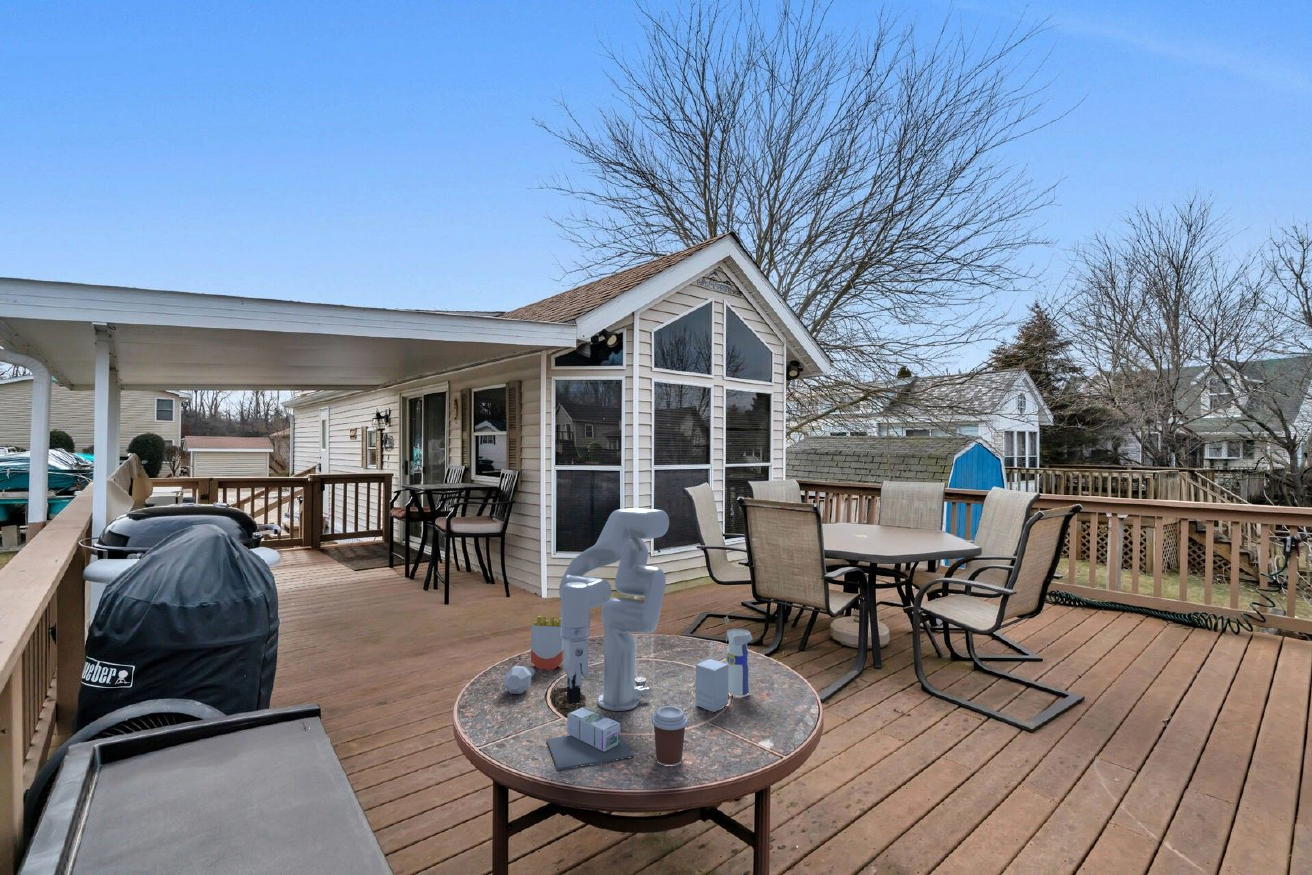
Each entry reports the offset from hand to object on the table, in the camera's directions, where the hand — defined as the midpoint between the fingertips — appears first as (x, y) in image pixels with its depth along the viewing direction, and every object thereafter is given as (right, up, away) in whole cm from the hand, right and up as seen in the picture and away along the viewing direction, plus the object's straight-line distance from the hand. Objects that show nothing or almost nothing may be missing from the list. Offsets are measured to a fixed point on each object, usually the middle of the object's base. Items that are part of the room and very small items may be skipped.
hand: (573, 701), depth 156 cm
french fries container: (-17, -12, +55) cm, 58 cm away
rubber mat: (+4, -11, -2) cm, 12 cm away
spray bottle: (+47, -13, +35) cm, 60 cm away
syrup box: (-1, -8, +6) cm, 10 cm away
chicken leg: (-22, -12, +37) cm, 44 cm away
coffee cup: (+25, -12, -7) cm, 28 cm away
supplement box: (+38, -13, +25) cm, 47 cm away
